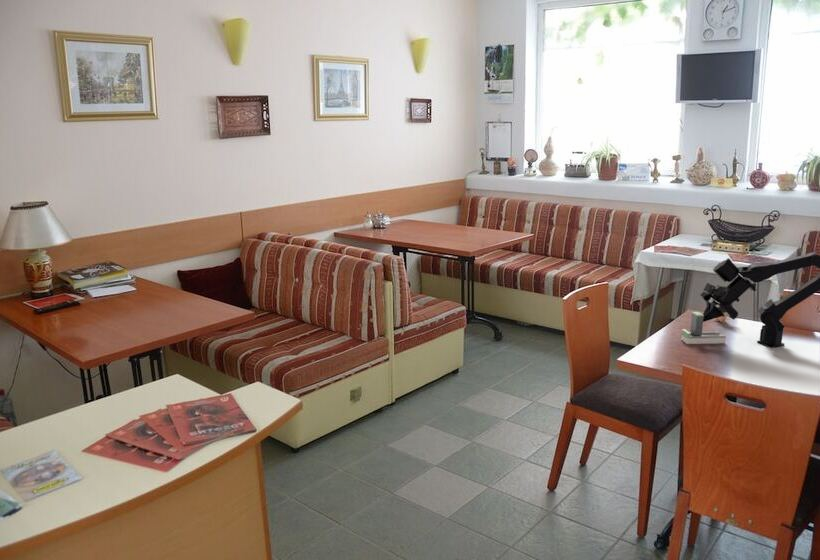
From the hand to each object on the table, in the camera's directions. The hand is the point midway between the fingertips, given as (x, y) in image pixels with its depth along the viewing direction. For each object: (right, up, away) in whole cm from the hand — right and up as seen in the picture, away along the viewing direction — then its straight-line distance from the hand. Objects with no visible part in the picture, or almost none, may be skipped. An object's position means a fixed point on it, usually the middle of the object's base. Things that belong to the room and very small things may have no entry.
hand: (700, 321), depth 251 cm
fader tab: (-1, -5, +1) cm, 5 cm away
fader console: (+1, -8, +2) cm, 8 cm away
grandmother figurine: (+19, -2, +26) cm, 32 cm away
